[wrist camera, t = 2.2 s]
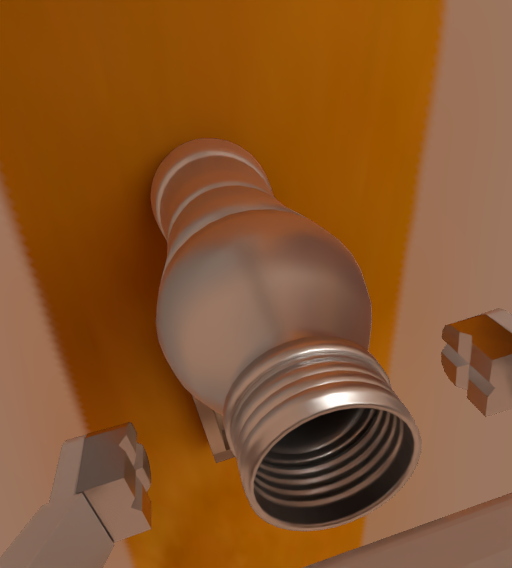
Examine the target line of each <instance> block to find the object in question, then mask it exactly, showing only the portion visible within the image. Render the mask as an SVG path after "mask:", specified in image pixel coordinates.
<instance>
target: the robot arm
mask: <svg viewBox="0 0 512 568" xmlns="http://www.w3.org/2000/svg"><path fill="white" fill-rule="evenodd" d="M442 339H443V340H444V341H445V342H447V345H446V346H445V347H444V349H443V350H442V352H441V355H442V356H441V357H442V360H441V362H442V365H443V368H444V371H445V373H446V374H447V376H448V378H449V379H450V380H451V381H452V382H453V383H454V385H455V386H457V387H460V388H462V389H465V390H467V398H468V399H469V400H470V401H471V402H472V403H473V404H474V406H476V408H478V410H479V411H480V412H481V413H482V414H483V415H484V416H485V417H487V416H490V415H493V414H497V413H500V412H503V411H506V410H509V409H512V314H510V313H509V312H508V311H506V310H504V309H500V308H498V309H494V310H491V311H488V312H485V313H482V314H480V315H477V316H474V317H470V318H467V319H464V320H461V321H457V322H454V323H451V324H448V325H445V327H444V329H443V331H442ZM150 486H151V473H150V466H149V461H148V458H147V454H146V451H145V449H144V447H143V445H141V444H139V443H137V432H136V430H135V428H134V427H133V425H132V423H130V422H128V423H124V424H121V425H117V426H113V427H110V428H106V429H103V430H99V431H96V432H92V433H89V434H87V435H83V436H80V437H76V438H73V439H69V440H66V441H65V443H64V444H63V445H62V448H61V452H60V457H59V461H58V465H57V470H56V474H55V478H54V483H53V487H52V492H51V496H50V500H49V503H48V504H45V505H43V506H41V508H40V509H39V510H38V511H37V513H36V514H35V515H34V516H33V517H32V519H31V520H30V521H29V523H28V524H27V525H26V526H25V527H24V529H23V530H22V531H21V532H20V534H19V535H18V536H17V537H16V538H15V540H14V541H13V542H12V543H11V545H10V546H9V547H8V548H7V550H6V551H5V552H4V553H3V555H2V556H1V557H0V568H103V567H104V565H105V563H106V560H107V559H108V557H109V555H110V553H111V551H112V549H113V547H114V542H117V541H120V540H122V539H125V538H128V537H131V536H133V535H136V534H139V533H142V532H144V531H147V530H150V529H151V501H150V499H149V496H148V494H147V490H148V489H149V487H150ZM303 568H512V493H509V494H506V495H503V496H501V497H498V498H495V499H492V500H490V501H487V502H484V503H481V504H478V505H476V506H473V507H470V508H467V509H465V510H462V511H459V512H456V513H453V514H451V515H448V516H445V517H442V518H440V519H437V520H434V521H432V522H428V523H426V524H423V525H420V526H417V527H415V528H412V529H409V530H407V531H403V532H401V533H398V534H395V535H392V536H390V537H387V538H384V539H381V540H379V541H376V542H373V543H370V544H368V545H365V546H362V547H359V548H356V549H353V550H351V551H348V552H345V553H342V554H340V555H337V556H334V557H331V558H328V559H326V560H323V561H320V562H317V563H315V564H312V565H309V566H306V567H303Z"/></svg>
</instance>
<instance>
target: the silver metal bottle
mask: <svg viewBox="0 0 512 568" xmlns="http://www.w3.org/2000/svg"><path fill="white" fill-rule="evenodd" d="M150 198H151V207H152V211H153V214H154V217H155V220H156V222H157V224H158V227H159V229H160V230H161V232H162V234H163V236H164V237H165V239H166V240H167V245H168V247H167V259H166V263H165V267H164V271H163V275H162V279H161V283H160V286H159V292H158V301H157V313H156V328H157V336H158V341H159V344H160V346H161V349H162V351H163V354H164V357H165V358H166V360H167V362H168V363H169V365H170V367H171V369H172V370H173V372H174V374H175V375H176V377H177V378H178V379H179V381H180V382H181V384H182V385H183V387H184V388H185V389H186V390H187V391H189V392H190V393H191V394H192V395H193V396H194V397H195V398H196V399H198V400H199V401H201V402H202V403H204V404H205V405H206V406H208V407H209V408H211V409H212V410H214V411H215V412H217V413H219V414H221V415H222V416H223V424H224V429H225V433H226V437H227V441H228V444H229V447H230V450H231V451H232V453H233V454H234V456H235V457H236V459H237V463H238V467H239V472H240V476H241V480H242V485H243V488H244V491H245V494H246V497H247V498H248V500H249V503H250V506H251V507H252V508H253V510H254V511H255V513H256V514H257V515H258V516H259V517H261V518H262V519H263V520H264V521H266V522H267V523H269V524H272V525H274V526H276V527H279V528H283V529H288V530H294V531H314V530H323V529H328V528H333V527H337V526H340V525H343V524H346V523H349V522H352V521H354V520H356V519H359V518H361V517H363V516H365V515H367V514H369V513H370V512H372V511H374V510H375V509H377V508H379V507H380V506H382V505H383V504H384V503H386V502H387V501H388V500H389V499H391V498H392V497H393V496H394V495H395V494H396V493H397V492H398V491H399V490H400V489H401V488H402V487H403V486H404V485H405V483H406V482H407V481H408V479H409V478H410V477H411V475H412V473H413V472H414V470H415V468H416V465H417V464H418V461H419V457H420V454H421V437H420V433H419V429H418V428H417V426H416V425H415V421H414V419H413V418H412V416H411V414H410V413H409V411H408V410H407V408H406V407H405V406H404V404H403V403H402V402H401V401H400V399H399V398H398V396H397V395H396V394H395V392H394V391H393V390H392V387H391V384H390V381H389V378H388V376H387V375H386V373H385V372H384V370H383V368H382V367H381V366H380V364H379V363H378V362H377V360H376V359H375V358H374V356H373V355H372V354H370V353H369V352H368V348H369V342H370V332H371V323H372V313H371V302H370V298H369V295H368V291H367V288H366V285H365V282H364V279H363V276H362V273H361V270H360V268H359V266H358V264H357V262H356V261H355V259H354V257H353V255H352V254H351V253H350V251H349V250H348V249H347V248H346V247H345V246H344V245H343V244H342V243H341V242H340V241H339V240H338V239H337V238H335V237H334V236H333V235H331V234H330V233H329V232H328V231H326V230H325V229H323V228H322V227H320V226H319V225H317V224H316V223H314V222H313V221H311V220H310V219H307V218H306V217H304V216H302V215H300V214H298V213H296V212H294V211H292V210H291V209H289V208H287V207H285V206H284V205H283V204H282V203H280V202H279V201H278V200H277V199H275V197H274V195H273V193H272V189H271V186H270V184H269V181H268V179H267V176H266V174H265V172H264V170H263V169H262V167H261V166H260V164H259V162H258V161H257V160H256V159H255V158H254V157H253V156H252V155H251V154H250V153H249V152H248V151H246V150H245V149H243V148H242V147H240V146H239V145H236V144H234V143H232V142H230V141H226V140H221V139H217V138H201V139H196V140H191V141H188V142H186V143H184V144H181V145H180V146H178V147H177V148H175V149H174V150H173V151H171V152H170V153H169V154H168V155H167V156H166V158H165V159H164V160H163V161H162V162H161V164H160V165H159V167H158V169H157V171H156V172H155V175H154V178H153V181H152V185H151V195H150Z"/></svg>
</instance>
